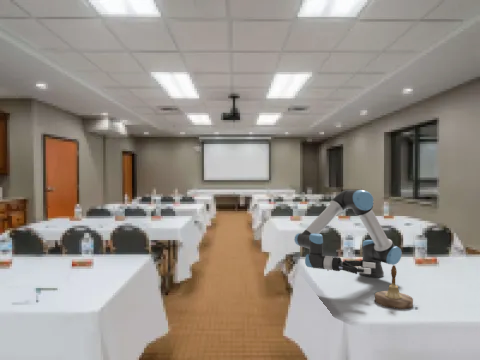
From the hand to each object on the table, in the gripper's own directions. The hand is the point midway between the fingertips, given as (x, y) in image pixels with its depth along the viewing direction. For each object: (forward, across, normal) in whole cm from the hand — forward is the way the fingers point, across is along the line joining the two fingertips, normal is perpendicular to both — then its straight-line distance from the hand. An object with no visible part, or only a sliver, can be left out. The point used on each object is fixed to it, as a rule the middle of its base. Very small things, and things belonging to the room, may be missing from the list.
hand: (373, 268), depth 185 cm
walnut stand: (+10, 0, -16) cm, 19 cm away
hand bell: (+10, 0, -14) cm, 17 cm away
